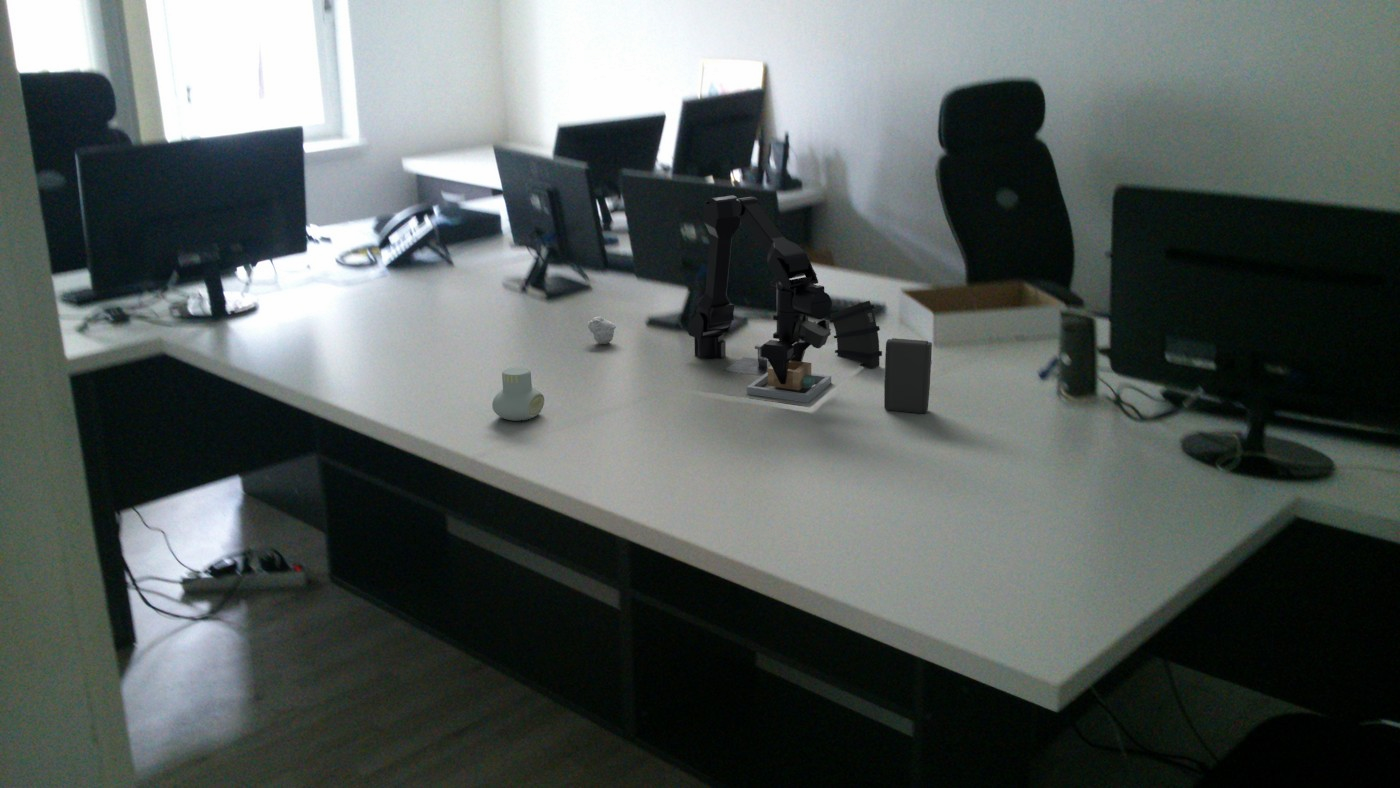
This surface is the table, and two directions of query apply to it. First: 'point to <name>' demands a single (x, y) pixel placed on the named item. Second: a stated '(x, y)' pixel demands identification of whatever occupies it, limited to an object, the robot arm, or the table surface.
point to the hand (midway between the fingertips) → (789, 378)
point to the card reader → (907, 375)
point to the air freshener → (517, 396)
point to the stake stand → (751, 365)
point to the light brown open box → (793, 376)
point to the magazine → (857, 334)
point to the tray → (795, 396)
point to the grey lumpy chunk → (601, 329)
